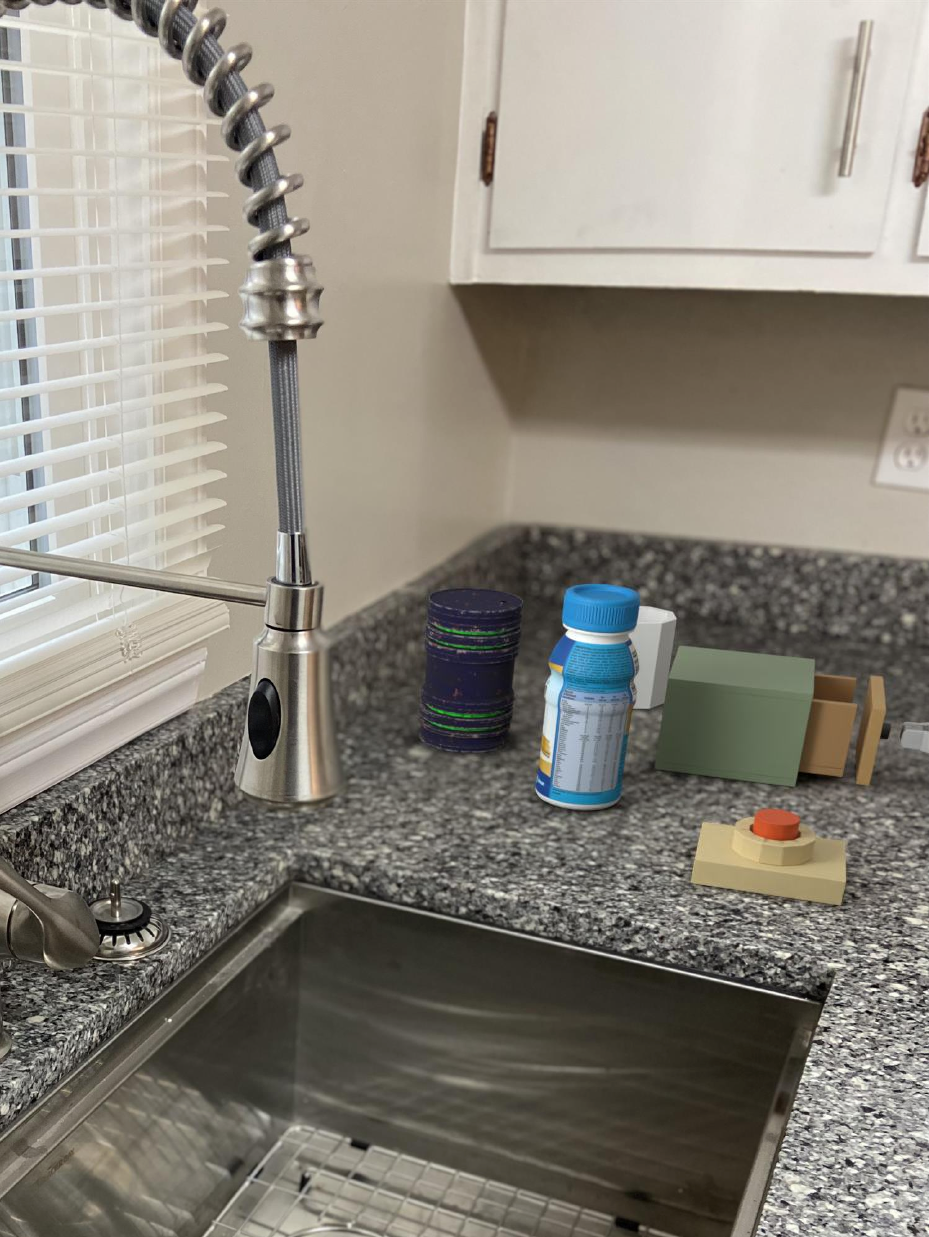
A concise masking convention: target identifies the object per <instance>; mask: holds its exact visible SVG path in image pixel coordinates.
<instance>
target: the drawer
mask: <svg viewBox="0 0 929 1237" xmlns="http://www.w3.org/2000/svg"><path fill="white" fill-rule="evenodd" d="M856 684H857V677H852V676H844V675H834V674H823V673H814V694H813V699H812V704H811V709H810V715H809V720H808V725H807V730H806V735H805V740H804V745H803V750H802V755H801V760H800V765H799V770H798V773H808V774H813V775H823V776H833V777H838V778H843V777H844V773H845V768H846V764H847V759H848V754H849V750H850V745H851V740H852V735H853V730H854V725H855V721H856V716H857V712H858V708H859V707H858V703H853V699H854V695H855V689H856ZM886 704H887V702H886V693H885V683H884V676H881V675H872V674H871V675H870V677H869V681H868V686H867V690H866V695H865V700H864V704H863V709H862V713H861V717H860V723H859V726H858V727H859V728H858V732H857V737H856V742H855V746H854V752H855V754H854V756H855V781H856V782H855V783H856V785H861V786H870V785H871V781H872V776H873V771H874V768H875V762H876V758H877V754H878V753H877V752H878V749H879V745H880V740H889V737H890V734H891V728H892V724H891V723H889V722H884V721H885V717H886V713H887V705H886Z"/></svg>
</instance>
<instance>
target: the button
mask: <svg viewBox="0 0 929 1237" xmlns="http://www.w3.org/2000/svg"><path fill="white" fill-rule="evenodd" d="M754 817H755V820H754V825H753V830H752V833H754V834H755V835H757V836H760V837H763V838H766V839H770V840H777V841H790V840H795V839H797V834H798V829H799V824H801V818H800V816H798V815H797V814H795V813H793V812H791V811H788V810H784V809H777V808H764V809H763V808H762V809H759V810H757V811H756V812H755V814H754Z"/></svg>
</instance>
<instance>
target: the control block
mask: <svg viewBox="0 0 929 1237" xmlns="http://www.w3.org/2000/svg"><path fill="white" fill-rule="evenodd" d="M754 820H755V816H747V817H745V818H742V819H739V820H738V821H735V824H734V825H730V824H724V823H723V824H722V823H716V822H715V823H714V822H708V821H702V824H701V828H700V832H699V833H700V834H699V837H698V842H697V847H696V852H695V855H694V861H693V867H692V872H691V879H690V884H694V885H700V886H708V887H715V888H720V889H721V888H722V889H728V890H734V891H741V892H747V893H754V894H761V895H767V896H774V897H781V898H788V899H792V900H793V899H794V900H801V901H808V902H815V903H820V904H828V905H832V906H833V905H834V906H842V904H843V899H844V895H845V890H846V885H847V842H846V840H838V839H832V838H825V837H816V835H817V834H816V832H815V831H814V830H812V829H811V828H810V827H809V826H808V825H806V824H803V823H800V824H799V829H798V834H797V839H795V840H790V841H777V840H770V839H766V838H763V837H760V836H757V835H755V834H754V833H752V830H753V825H754Z"/></svg>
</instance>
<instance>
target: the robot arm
mask: <svg viewBox="0 0 929 1237" xmlns="http://www.w3.org/2000/svg"><path fill="white" fill-rule="evenodd" d="M899 739H900V746H901V748H903V749H908V750H917V751H920V752H923V753H926V754H928V755H929V721H928V722H913V721H905V722H903V723H902V724H901V728H900V733H899Z"/></svg>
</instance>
